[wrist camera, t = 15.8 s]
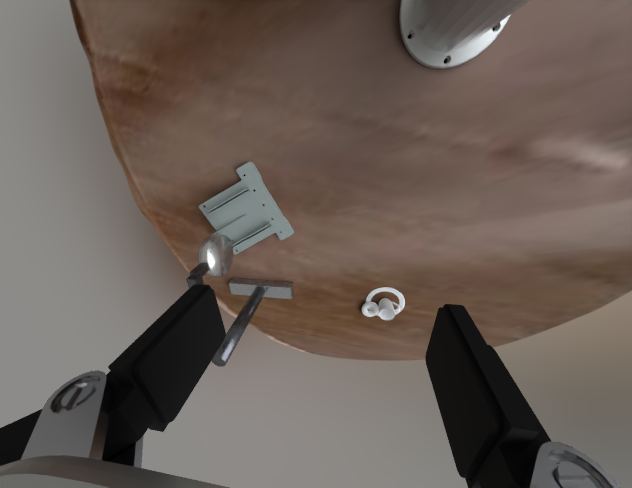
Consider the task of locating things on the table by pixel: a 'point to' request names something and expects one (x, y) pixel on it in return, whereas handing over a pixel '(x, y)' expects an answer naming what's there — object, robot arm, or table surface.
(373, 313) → the white ring with cylinder
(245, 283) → the metal desk lamp
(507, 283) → the table surface
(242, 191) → the metal bracket
